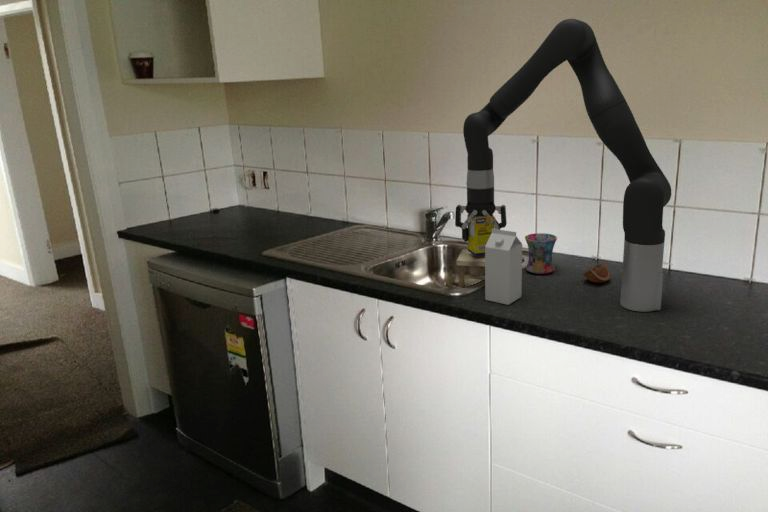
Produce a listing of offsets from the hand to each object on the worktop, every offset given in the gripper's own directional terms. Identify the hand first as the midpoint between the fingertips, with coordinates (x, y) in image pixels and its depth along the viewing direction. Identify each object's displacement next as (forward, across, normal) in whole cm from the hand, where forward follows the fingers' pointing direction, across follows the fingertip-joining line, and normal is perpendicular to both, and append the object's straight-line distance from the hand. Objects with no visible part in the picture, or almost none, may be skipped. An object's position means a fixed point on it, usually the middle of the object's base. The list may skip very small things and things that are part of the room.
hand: (480, 241), depth 183 cm
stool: (+12, 0, 0) cm, 12 cm away
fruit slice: (+13, -32, -4) cm, 34 cm away
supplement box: (+3, 0, 0) cm, 3 cm away
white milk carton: (+12, -8, +13) cm, 20 cm away
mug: (+12, -17, -13) cm, 25 cm away
